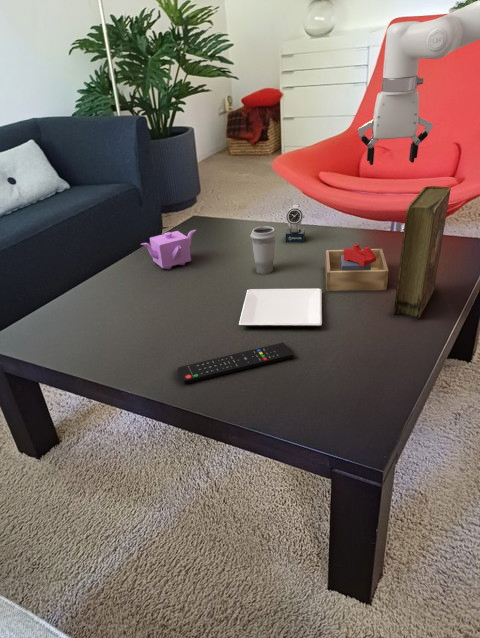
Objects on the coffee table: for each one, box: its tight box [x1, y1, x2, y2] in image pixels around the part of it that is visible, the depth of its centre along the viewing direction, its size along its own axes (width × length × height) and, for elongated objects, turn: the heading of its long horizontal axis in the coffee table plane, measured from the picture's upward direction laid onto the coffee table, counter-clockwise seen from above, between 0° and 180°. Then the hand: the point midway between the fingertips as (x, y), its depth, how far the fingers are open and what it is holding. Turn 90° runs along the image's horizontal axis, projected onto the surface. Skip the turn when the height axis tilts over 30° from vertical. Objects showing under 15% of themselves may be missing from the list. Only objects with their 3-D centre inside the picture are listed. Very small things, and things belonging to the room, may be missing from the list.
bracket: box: [343, 243, 376, 267], centre depth 133 cm, size 6×5×3 cm
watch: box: [285, 204, 306, 244], centre depth 162 cm, size 6×8×11 cm
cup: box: [249, 225, 277, 275], centre depth 145 cm, size 7×7×12 cm
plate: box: [238, 288, 323, 327], centre depth 126 cm, size 19×19×2 cm
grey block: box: [340, 255, 371, 271], centre depth 136 cm, size 7×7×5 cm
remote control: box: [177, 342, 294, 384], centre depth 109 cm, size 5×24×1 cm, turn 106°
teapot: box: [140, 229, 197, 270], centre depth 156 cm, size 18×13×10 cm
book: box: [393, 185, 452, 320], centre depth 117 cm, size 16×6×25 cm, turn 148°
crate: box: [324, 248, 390, 292], centre depth 136 cm, size 15×15×6 cm
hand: (391, 162), depth 131 cm, fingers open, 9 cm apart
